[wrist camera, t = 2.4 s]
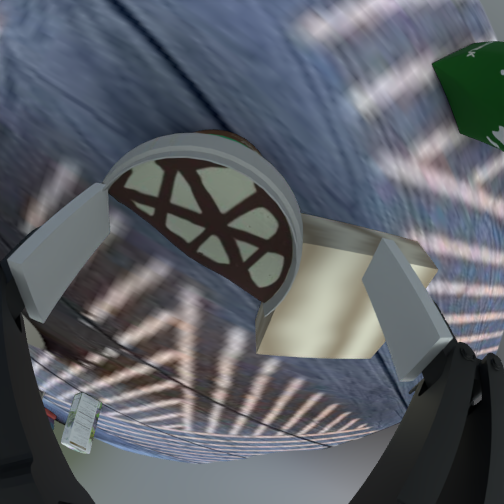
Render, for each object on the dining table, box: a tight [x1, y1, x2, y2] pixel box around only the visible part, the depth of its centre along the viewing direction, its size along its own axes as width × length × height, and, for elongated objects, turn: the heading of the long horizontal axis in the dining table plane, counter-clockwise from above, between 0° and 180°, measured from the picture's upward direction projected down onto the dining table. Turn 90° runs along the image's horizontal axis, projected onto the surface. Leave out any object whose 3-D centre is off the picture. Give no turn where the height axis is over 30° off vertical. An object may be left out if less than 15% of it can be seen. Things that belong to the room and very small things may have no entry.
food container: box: [102, 130, 303, 317], centre depth 16 cm, size 12×6×10 cm, turn 46°
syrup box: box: [61, 392, 102, 454], centre depth 44 cm, size 6×6×14 cm
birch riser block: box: [255, 213, 438, 359], centre depth 26 cm, size 14×14×5 cm
